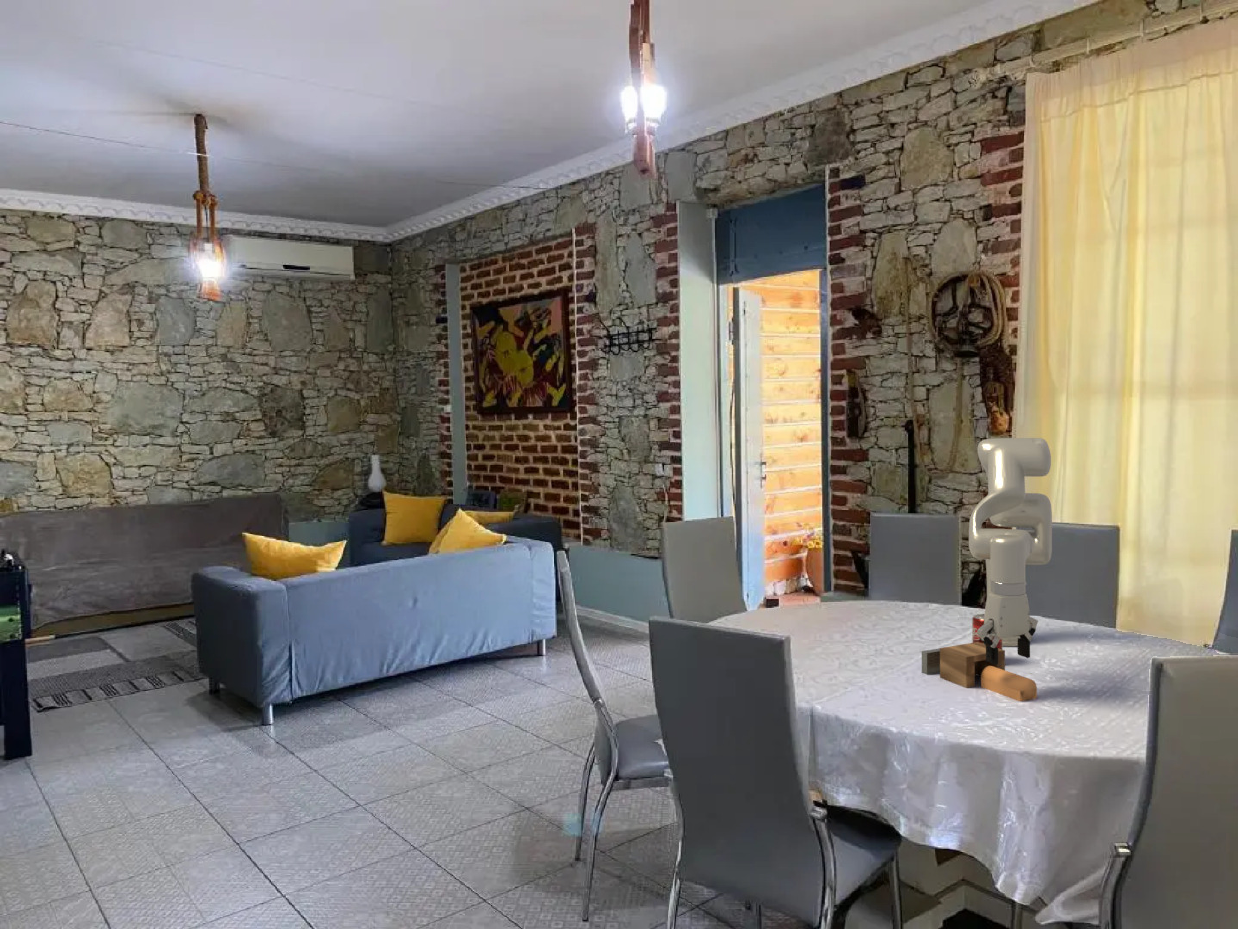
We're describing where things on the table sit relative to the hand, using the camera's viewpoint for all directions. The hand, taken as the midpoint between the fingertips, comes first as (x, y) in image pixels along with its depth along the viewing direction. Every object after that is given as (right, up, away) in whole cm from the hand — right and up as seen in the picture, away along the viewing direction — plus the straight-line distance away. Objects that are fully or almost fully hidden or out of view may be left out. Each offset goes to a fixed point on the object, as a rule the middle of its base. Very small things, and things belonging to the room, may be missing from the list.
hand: (1008, 659), depth 214 cm
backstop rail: (-8, -7, +19) cm, 21 cm away
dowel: (0, -8, 0) cm, 8 cm away
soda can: (+5, -6, +24) cm, 26 cm away
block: (-4, -7, +10) cm, 13 cm away
